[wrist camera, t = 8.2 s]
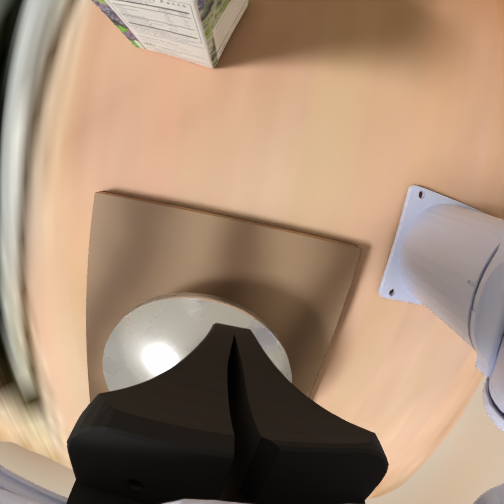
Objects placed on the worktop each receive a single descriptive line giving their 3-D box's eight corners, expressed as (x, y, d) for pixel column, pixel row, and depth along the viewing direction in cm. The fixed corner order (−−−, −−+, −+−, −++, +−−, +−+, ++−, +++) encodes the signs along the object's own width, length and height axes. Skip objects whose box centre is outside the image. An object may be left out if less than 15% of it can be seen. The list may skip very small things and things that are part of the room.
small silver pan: (151, 248, 19) (132, 266, 15) (320, 332, 21) (334, 362, 17) (88, 414, 22) (73, 442, 19) (214, 467, 24) (211, 497, 21)
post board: (356, 245, 21) (388, 270, 16) (278, 452, 26) (283, 496, 21) (101, 191, 19) (61, 200, 14) (96, 416, 24) (77, 455, 19)
